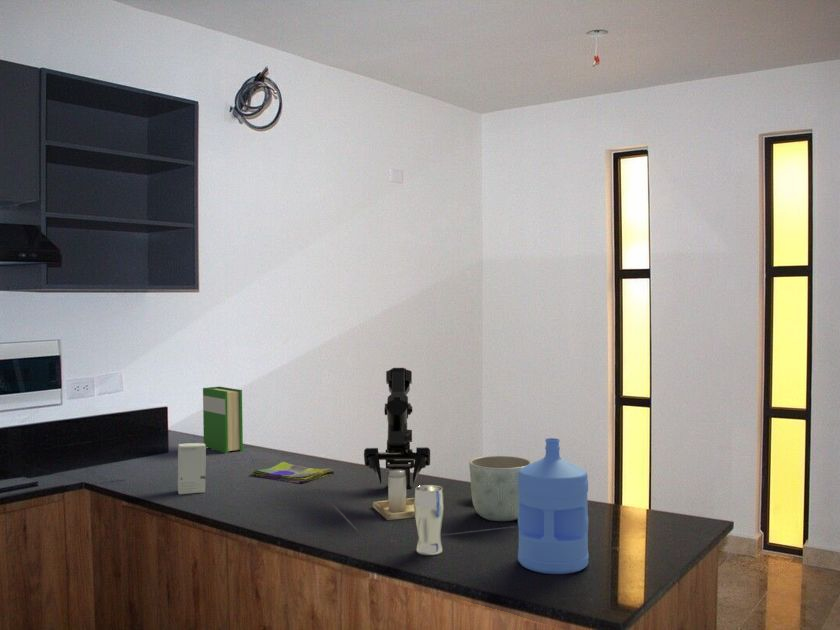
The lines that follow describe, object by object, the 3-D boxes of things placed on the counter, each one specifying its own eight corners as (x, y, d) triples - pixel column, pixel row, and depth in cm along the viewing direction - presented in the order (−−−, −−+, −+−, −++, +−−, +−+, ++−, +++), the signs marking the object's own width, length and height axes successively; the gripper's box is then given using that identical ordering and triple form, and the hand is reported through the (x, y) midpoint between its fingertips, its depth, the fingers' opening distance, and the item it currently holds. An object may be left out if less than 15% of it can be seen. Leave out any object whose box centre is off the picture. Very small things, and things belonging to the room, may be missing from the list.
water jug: (524, 550, 190) (523, 432, 190) (591, 555, 186) (591, 435, 185) (512, 571, 175) (511, 444, 175) (585, 578, 171) (584, 447, 170)
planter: (521, 507, 228) (521, 454, 227) (540, 524, 211) (540, 467, 211) (463, 511, 225) (463, 457, 224) (478, 528, 208) (477, 469, 208)
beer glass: (413, 547, 193) (413, 485, 193) (442, 546, 194) (441, 484, 193) (415, 556, 186) (415, 492, 186) (445, 555, 187) (445, 491, 186)
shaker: (398, 506, 228) (398, 468, 228) (410, 510, 224) (409, 471, 224) (384, 509, 225) (384, 470, 224) (396, 513, 221) (395, 473, 221)
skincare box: (178, 495, 246) (177, 446, 245) (177, 490, 251) (176, 443, 251) (206, 492, 248) (206, 444, 248) (205, 488, 254) (204, 441, 254)
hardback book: (242, 451, 315) (241, 390, 314) (225, 453, 310) (225, 391, 309) (220, 445, 328) (219, 386, 327) (203, 447, 323) (202, 388, 322)
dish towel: (285, 467, 286) (284, 459, 286) (337, 475, 273) (337, 467, 273) (249, 477, 272) (248, 468, 272) (302, 486, 258) (302, 477, 258)
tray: (419, 504, 232) (419, 497, 232) (436, 516, 219) (436, 509, 219) (373, 508, 228) (372, 501, 228) (387, 521, 215) (387, 514, 214)
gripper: (364, 419, 228) (361, 466, 217) (429, 419, 228) (430, 466, 217) (365, 442, 236) (364, 488, 225) (429, 441, 236) (430, 488, 225)
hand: (397, 482), depth 223 cm, fingers open, 9 cm apart
